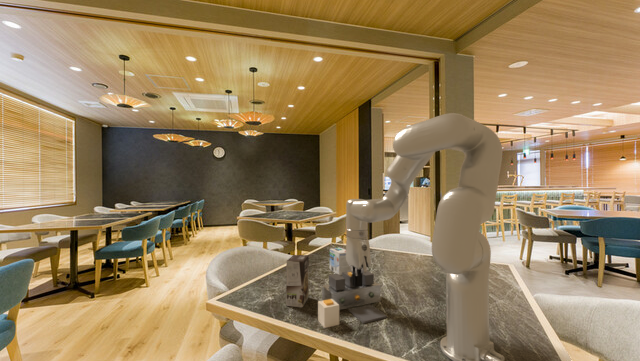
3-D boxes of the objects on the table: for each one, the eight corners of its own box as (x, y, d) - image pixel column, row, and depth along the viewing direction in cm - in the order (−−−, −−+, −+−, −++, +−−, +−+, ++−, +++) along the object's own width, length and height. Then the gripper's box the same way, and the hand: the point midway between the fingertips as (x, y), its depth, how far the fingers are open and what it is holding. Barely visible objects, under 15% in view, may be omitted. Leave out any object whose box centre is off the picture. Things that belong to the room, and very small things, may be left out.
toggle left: (345, 289, 94) (345, 278, 94) (336, 290, 92) (336, 280, 92) (337, 283, 99) (337, 273, 99) (328, 284, 98) (328, 274, 98)
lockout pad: (386, 317, 86) (386, 315, 86) (363, 323, 82) (363, 321, 82) (371, 306, 94) (370, 304, 94) (348, 310, 91) (348, 309, 91)
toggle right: (373, 284, 98) (373, 274, 98) (365, 285, 97) (365, 275, 97) (364, 278, 104) (364, 269, 104) (356, 280, 102) (356, 270, 103)
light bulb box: (329, 269, 135) (329, 248, 136) (340, 267, 138) (340, 246, 139) (339, 276, 126) (339, 253, 126) (351, 273, 129) (351, 251, 129)
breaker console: (381, 301, 98) (381, 285, 98) (332, 312, 90) (332, 294, 90) (368, 293, 106) (368, 277, 106) (322, 301, 98) (322, 285, 98)
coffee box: (303, 307, 93) (303, 261, 93) (285, 306, 94) (285, 260, 95) (309, 297, 102) (309, 254, 102) (293, 295, 103) (293, 254, 104)
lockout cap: (339, 324, 82) (339, 303, 82) (324, 328, 80) (324, 306, 80) (332, 317, 86) (332, 296, 87) (318, 320, 85) (317, 299, 85)
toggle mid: (358, 285, 97) (358, 273, 97) (350, 287, 95) (350, 274, 95) (350, 280, 102) (350, 268, 102) (342, 281, 101) (342, 270, 101)
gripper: (378, 236, 89) (378, 291, 89) (355, 229, 103) (355, 277, 102) (359, 238, 86) (359, 295, 86) (337, 231, 100) (338, 280, 99)
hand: (357, 285), depth 94 cm, fingers closed
